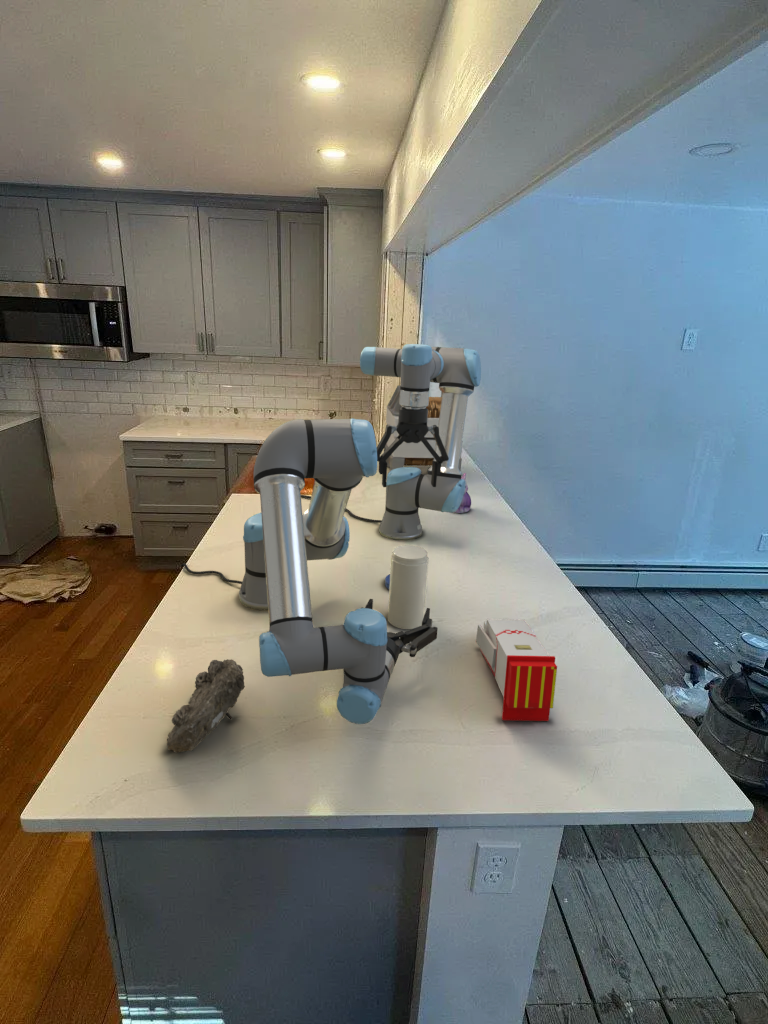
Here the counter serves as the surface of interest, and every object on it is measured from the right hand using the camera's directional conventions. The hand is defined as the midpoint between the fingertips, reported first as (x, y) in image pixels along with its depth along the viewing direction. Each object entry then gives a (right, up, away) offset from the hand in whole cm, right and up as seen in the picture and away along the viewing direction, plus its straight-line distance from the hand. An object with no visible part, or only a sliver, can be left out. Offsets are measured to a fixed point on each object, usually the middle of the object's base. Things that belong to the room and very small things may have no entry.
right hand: (408, 485), depth 153 cm
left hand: (-3, -30, -21) cm, 36 cm away
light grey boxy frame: (+11, +12, +122) cm, 123 cm away
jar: (-1, -35, -8) cm, 35 cm away
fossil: (-39, -46, -45) cm, 76 cm away
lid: (-1, -27, +9) cm, 28 cm away
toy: (+20, -43, -30) cm, 56 cm away
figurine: (+24, -6, +74) cm, 78 cm away
